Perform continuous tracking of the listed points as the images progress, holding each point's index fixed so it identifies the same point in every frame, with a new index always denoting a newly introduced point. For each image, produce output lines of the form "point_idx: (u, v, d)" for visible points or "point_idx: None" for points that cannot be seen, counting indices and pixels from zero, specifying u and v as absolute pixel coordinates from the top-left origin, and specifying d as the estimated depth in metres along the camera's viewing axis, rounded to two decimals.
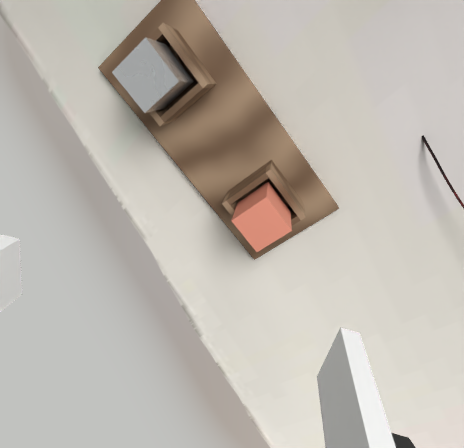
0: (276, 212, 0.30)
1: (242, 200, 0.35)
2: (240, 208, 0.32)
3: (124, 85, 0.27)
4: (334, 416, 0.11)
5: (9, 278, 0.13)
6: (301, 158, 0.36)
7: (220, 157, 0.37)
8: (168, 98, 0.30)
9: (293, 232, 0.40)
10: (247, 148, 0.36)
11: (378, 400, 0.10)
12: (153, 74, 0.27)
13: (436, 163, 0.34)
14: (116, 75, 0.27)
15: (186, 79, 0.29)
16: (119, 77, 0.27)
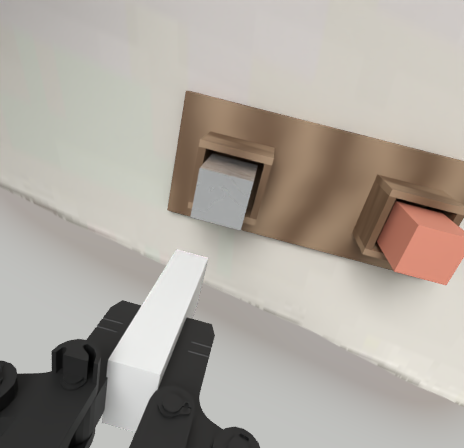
0: (441, 232, 0.23)
1: (381, 236, 0.29)
2: (390, 249, 0.27)
3: (207, 220, 0.25)
4: None
5: None
6: (409, 151, 0.29)
7: (323, 207, 0.33)
8: None
9: None
10: (344, 182, 0.31)
11: (192, 296, 0.12)
12: (226, 192, 0.24)
13: None
14: (195, 216, 0.25)
15: (253, 170, 0.26)
16: (199, 216, 0.25)
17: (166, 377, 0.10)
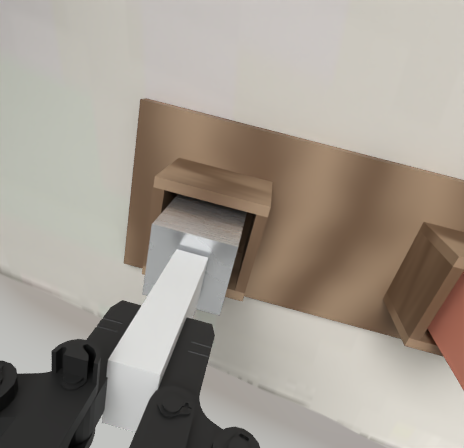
0: None
1: (433, 320, 0.19)
2: (455, 352, 0.17)
3: None
4: None
5: None
6: None
7: (343, 265, 0.23)
8: None
9: None
10: (374, 231, 0.21)
11: (192, 296, 0.12)
12: None
13: None
14: None
15: (240, 220, 0.17)
16: None
17: (166, 377, 0.10)
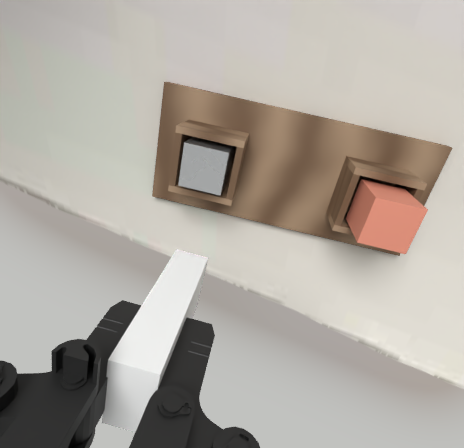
0: (397, 204, 0.25)
1: (349, 213, 0.31)
2: (355, 223, 0.28)
3: (192, 187, 0.30)
4: None
5: None
6: (375, 132, 0.31)
7: (298, 189, 0.34)
8: (227, 170, 0.32)
9: None
10: (315, 164, 0.33)
11: (192, 296, 0.12)
12: (207, 162, 0.29)
13: None
14: (182, 184, 0.30)
15: (231, 146, 0.31)
16: (185, 184, 0.30)
17: (166, 377, 0.10)
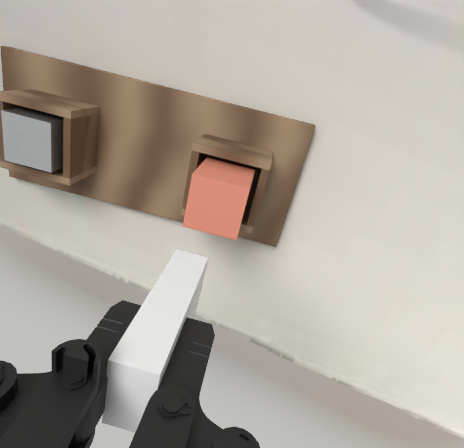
0: (216, 181, 0.22)
1: None
2: None
3: (20, 162, 0.27)
4: None
5: None
6: (231, 107, 0.28)
7: (160, 170, 0.31)
8: None
9: (290, 188, 0.30)
10: (174, 142, 0.30)
11: (192, 296, 0.12)
12: (30, 134, 0.26)
13: None
14: (9, 159, 0.27)
15: None
16: (12, 159, 0.27)
17: (166, 377, 0.10)
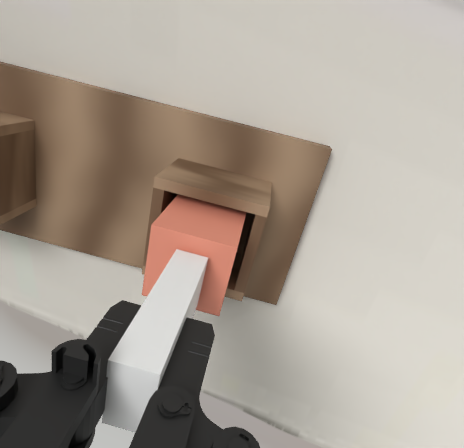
0: (187, 236, 0.15)
1: None
2: None
3: None
4: None
5: None
6: (214, 123, 0.20)
7: (120, 206, 0.23)
8: None
9: (295, 232, 0.22)
10: (137, 169, 0.22)
11: (192, 296, 0.12)
12: None
13: None
14: None
15: None
16: None
17: (166, 377, 0.10)
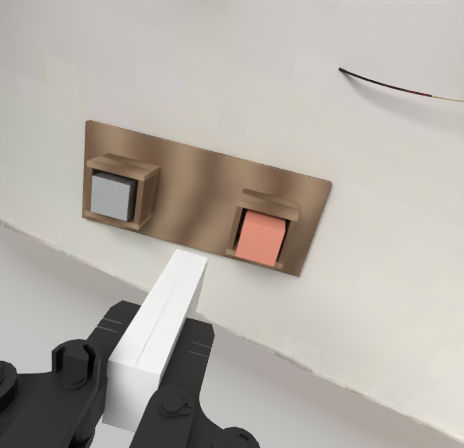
0: (261, 226, 0.31)
1: None
2: None
3: (102, 213, 0.35)
4: None
5: None
6: (265, 169, 0.36)
7: (205, 215, 0.39)
8: None
9: (311, 230, 0.38)
10: (218, 194, 0.38)
11: (192, 296, 0.12)
12: (112, 193, 0.34)
13: None
14: (94, 211, 0.35)
15: None
16: (96, 210, 0.35)
17: (166, 377, 0.10)
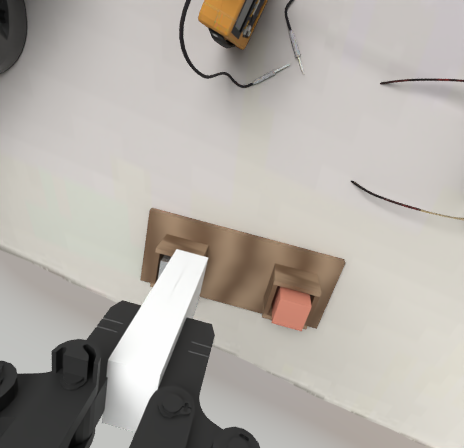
0: (293, 303, 0.41)
1: None
2: (273, 308, 0.45)
3: None
4: None
5: None
6: (293, 250, 0.46)
7: (243, 281, 0.49)
8: None
9: (327, 295, 0.48)
10: (254, 267, 0.47)
11: (192, 296, 0.12)
12: None
13: (373, 194, 0.40)
14: None
15: None
16: None
17: (166, 377, 0.10)
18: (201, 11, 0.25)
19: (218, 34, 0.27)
